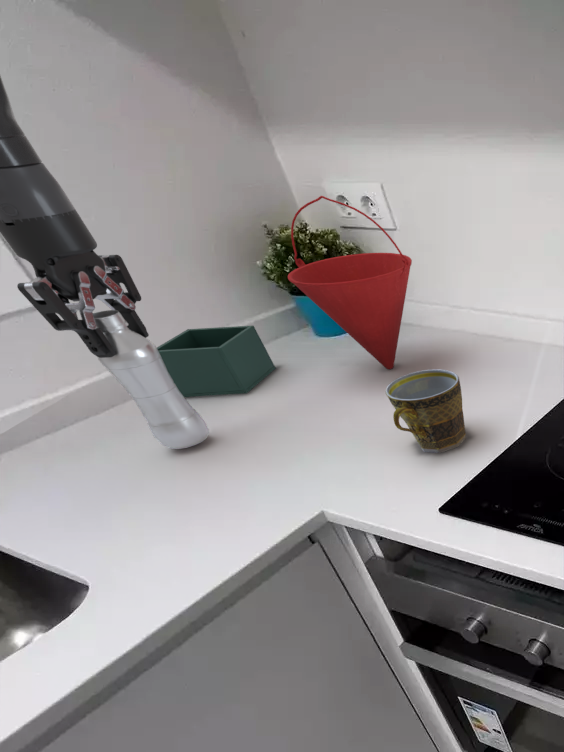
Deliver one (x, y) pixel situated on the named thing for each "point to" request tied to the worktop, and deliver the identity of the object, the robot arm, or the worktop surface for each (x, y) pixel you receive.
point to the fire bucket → (359, 293)
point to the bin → (216, 360)
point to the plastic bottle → (150, 384)
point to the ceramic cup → (429, 408)
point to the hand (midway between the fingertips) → (124, 346)
